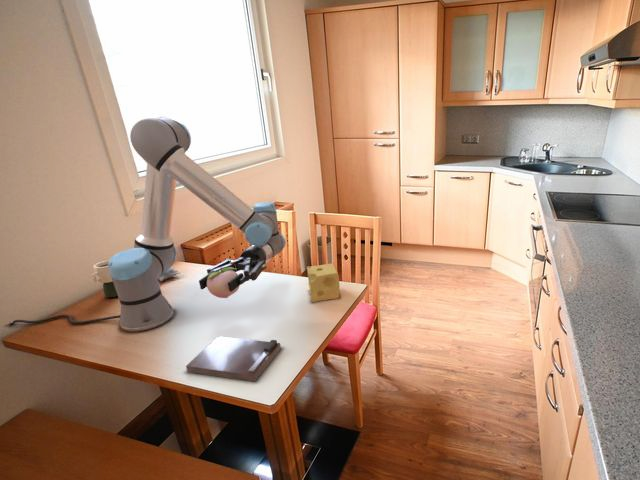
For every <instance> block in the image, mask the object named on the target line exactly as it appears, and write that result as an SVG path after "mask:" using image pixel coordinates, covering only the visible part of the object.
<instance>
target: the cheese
mask: <svg viewBox="0 0 640 480" xmlns="http://www.w3.org/2000/svg"><path fill="white" fill-rule="evenodd" d="M306 272H307V280H308V287H309V293H310V301H311V303H315V302H316V303H317V302H321V301H327V300H332V299H333V300H334V299H339V298H340V277H339V273H338V271H337V269H336V267H335V265H334V263H325V264H318V265H311V266H310V265H309V266H306Z"/></svg>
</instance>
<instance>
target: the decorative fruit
mask: <svg viewBox="0 0 640 480" xmlns="http://www.w3.org/2000/svg"><path fill="white" fill-rule="evenodd" d="M220 268H221V270H219V271H217V272H213V273H212V274H210V275H209V277H208V278H207V287H206V289H207V290H208V292H209V293H210V294H211V295H212V296H214V297H217V298H220V299H228V298H229V297H230V296H232V295H234V294H235V293H237V291H238V290H239V288H240V286H241V285H239V286H238V287H237V288H236V289H234V290H233V291H232V292H230V291H229V287H228V282H229V281H231V280H232V279H233V278H235V277H236V276H237V275H239V273H238V272H235V271H233V270H236V269H235V268H236V267H235V268H232V267H227V268H224V269H222V267H220Z"/></svg>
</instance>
